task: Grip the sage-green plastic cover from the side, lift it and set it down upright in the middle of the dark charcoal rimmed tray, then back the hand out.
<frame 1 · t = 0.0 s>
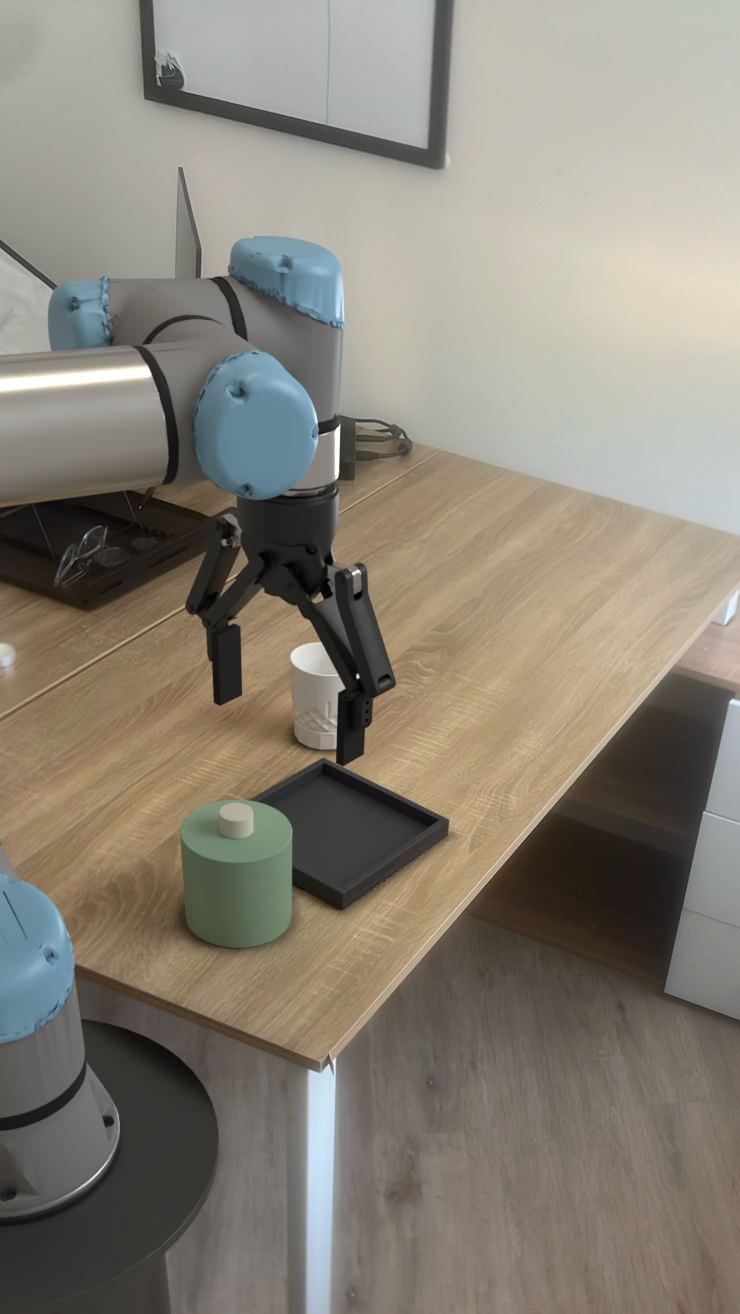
hand: (287, 728, 108), 22 cm above the table, tool pointing down, fingers open, 13 cm apart
tray: (331, 837, 134), on the table
cover: (239, 915, 123), on the table
white cup: (323, 737, 149), on the table
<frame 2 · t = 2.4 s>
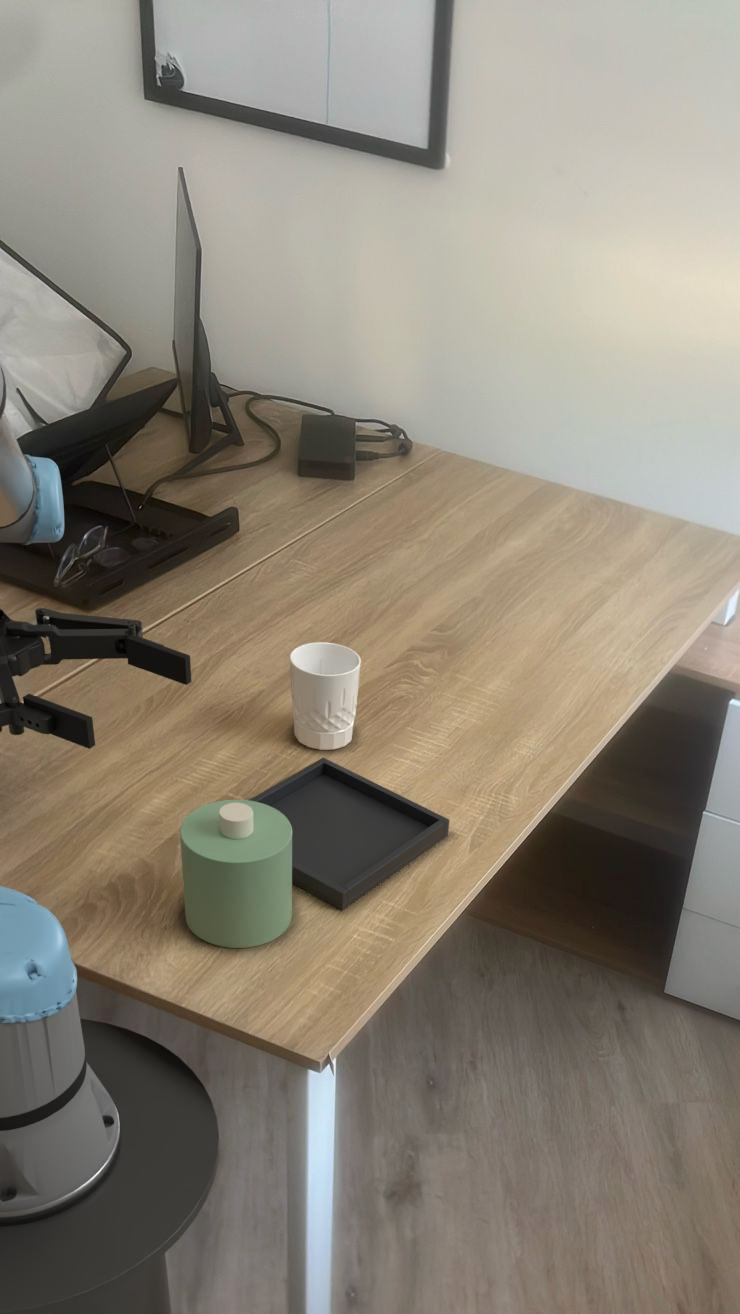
hand: (142, 700, 112), 20 cm above the table, tool horizontal, fingers open, 13 cm apart
nothing on the table moved.
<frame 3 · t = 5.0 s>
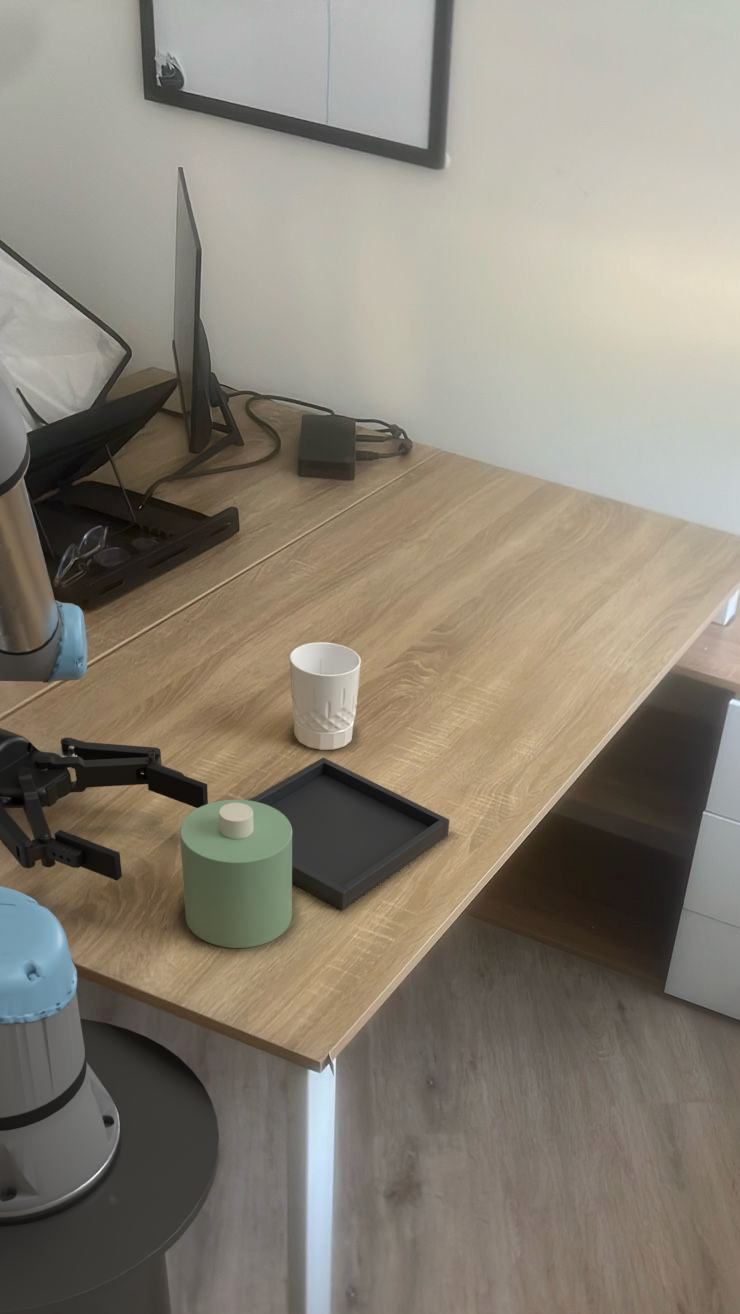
hand: (164, 830, 120), 7 cm above the table, tool horizontal, fingers open, 13 cm apart
nothing on the table moved.
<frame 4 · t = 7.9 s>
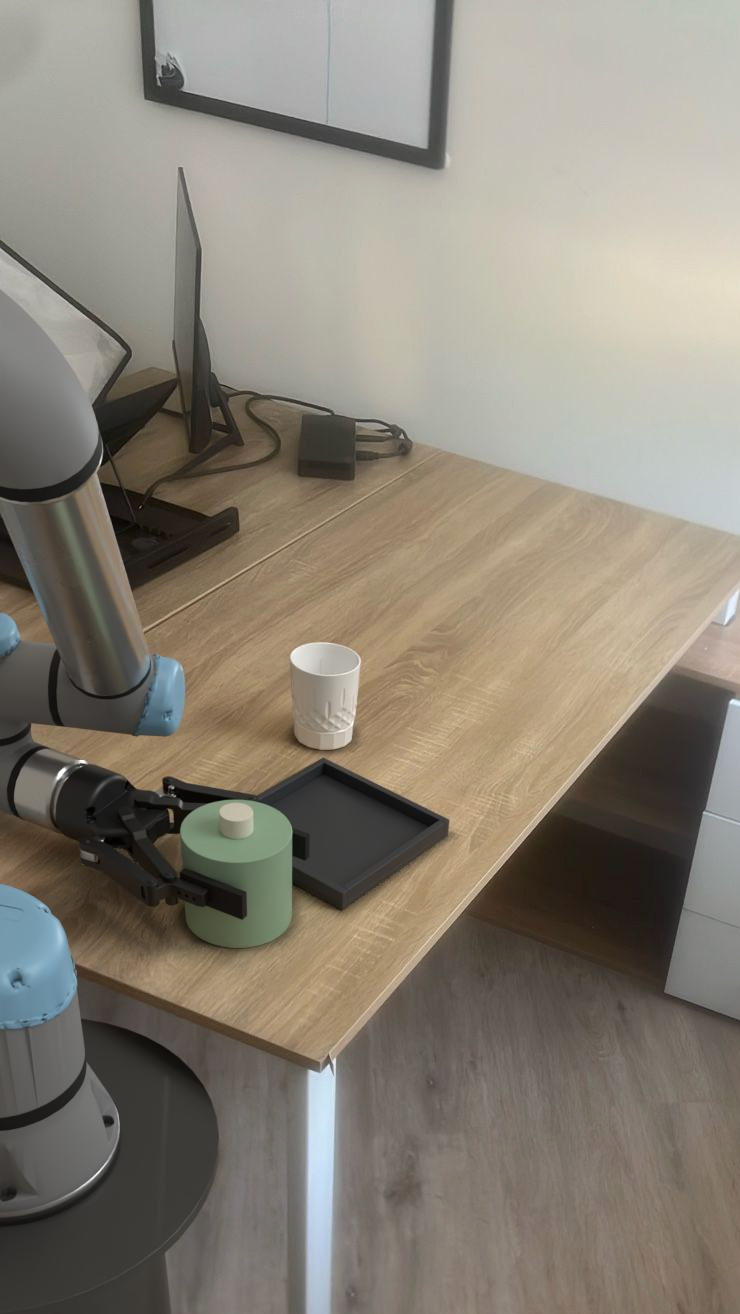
hand: (277, 875, 117), 6 cm above the table, tool horizontal, fingers closed on cover, 10 cm apart
cover: (239, 915, 123), on the table, touching gripper
everything else where it was.
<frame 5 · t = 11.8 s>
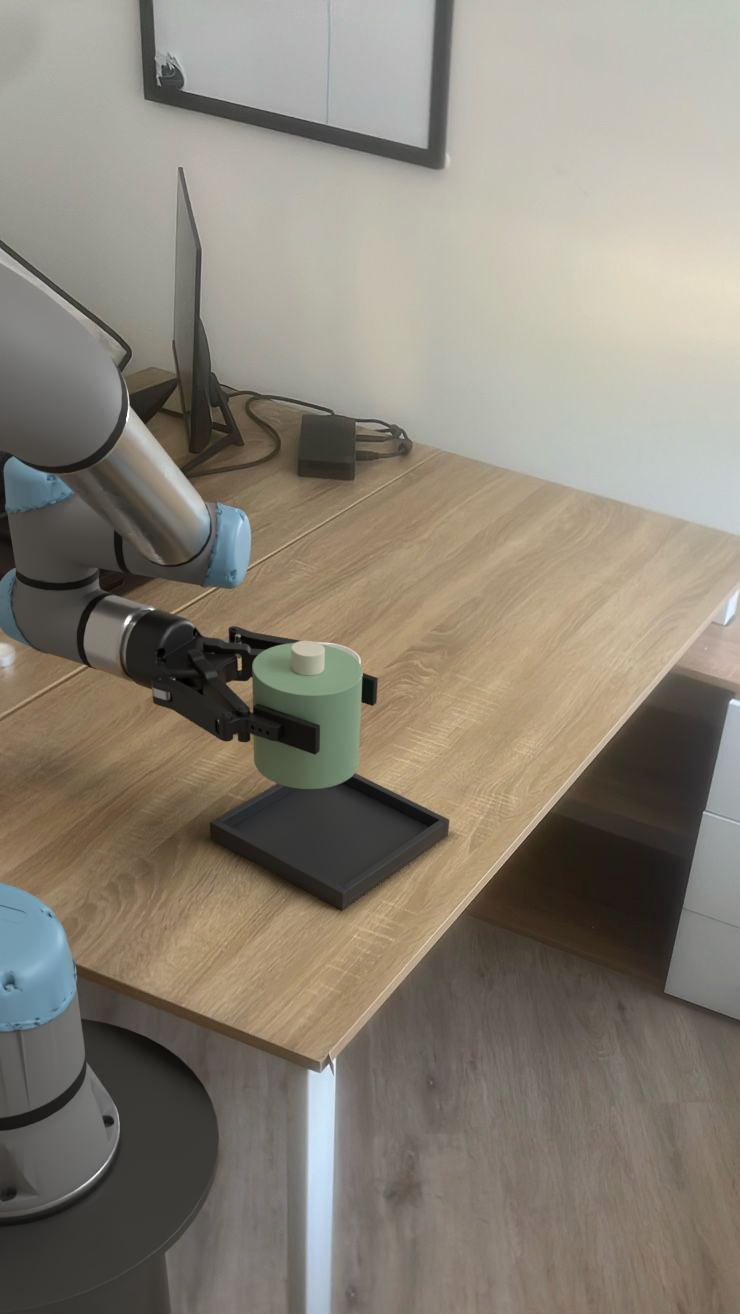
hand: (347, 715, 118), 18 cm above the table, tool horizontal, fingers closed on cover, 10 cm apart
cover: (306, 760, 123), point 12 cm above the table, touching gripper
everything else where it was.
when the fingers open (7 cm above the table, at t = 16.0 s): cover stays where it is, resting on tray.
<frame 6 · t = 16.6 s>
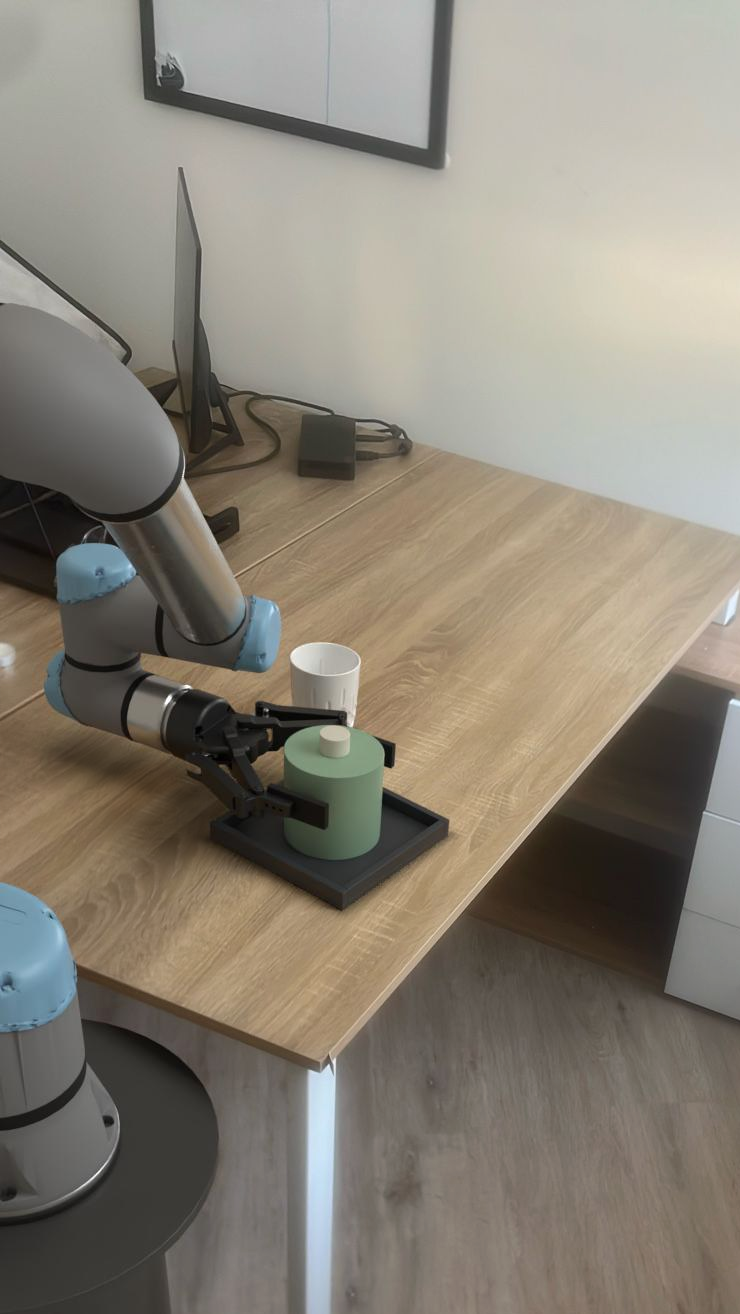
hand: (361, 785, 129), 8 cm above the table, tool horizontal, fingers open, 13 cm apart
cover: (332, 832, 134), point 1 cm above the table, touching tray
everything else where it was.
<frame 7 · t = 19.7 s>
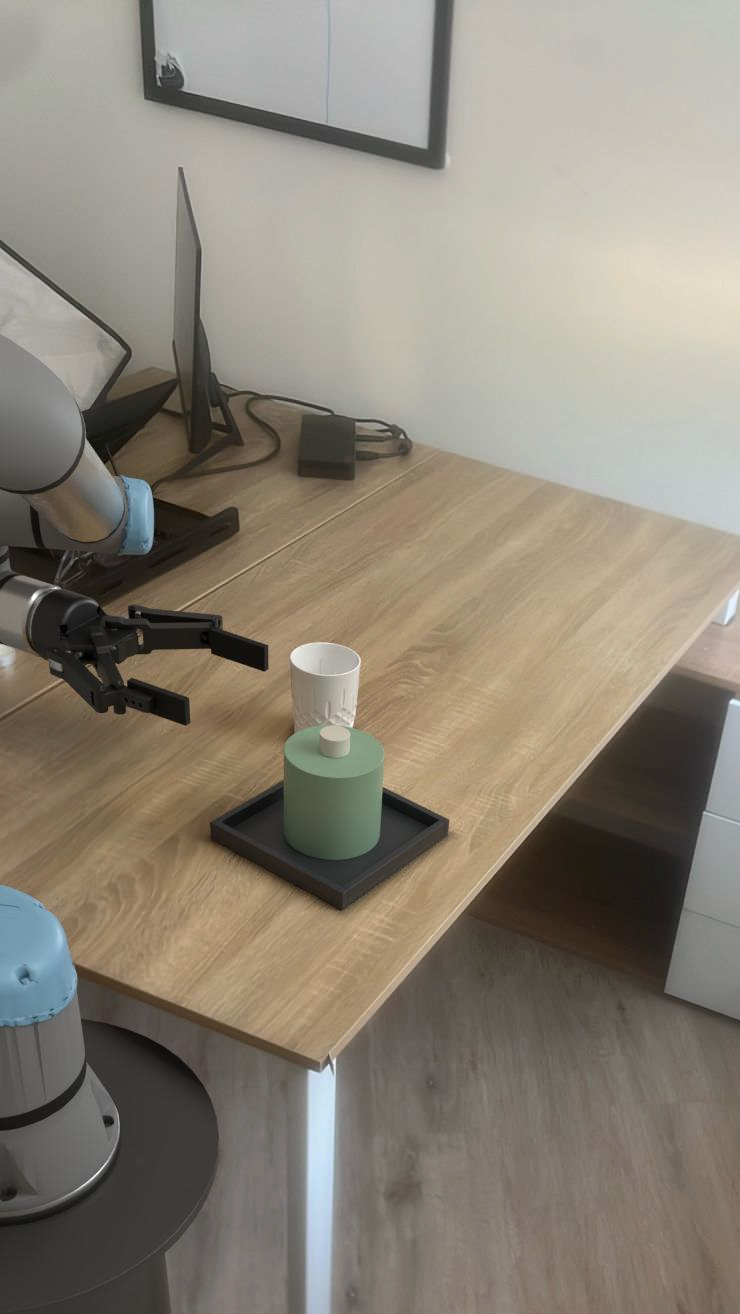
hand: (229, 684, 126), 15 cm above the table, tool horizontal, fingers open, 13 cm apart
nothing on the table moved.
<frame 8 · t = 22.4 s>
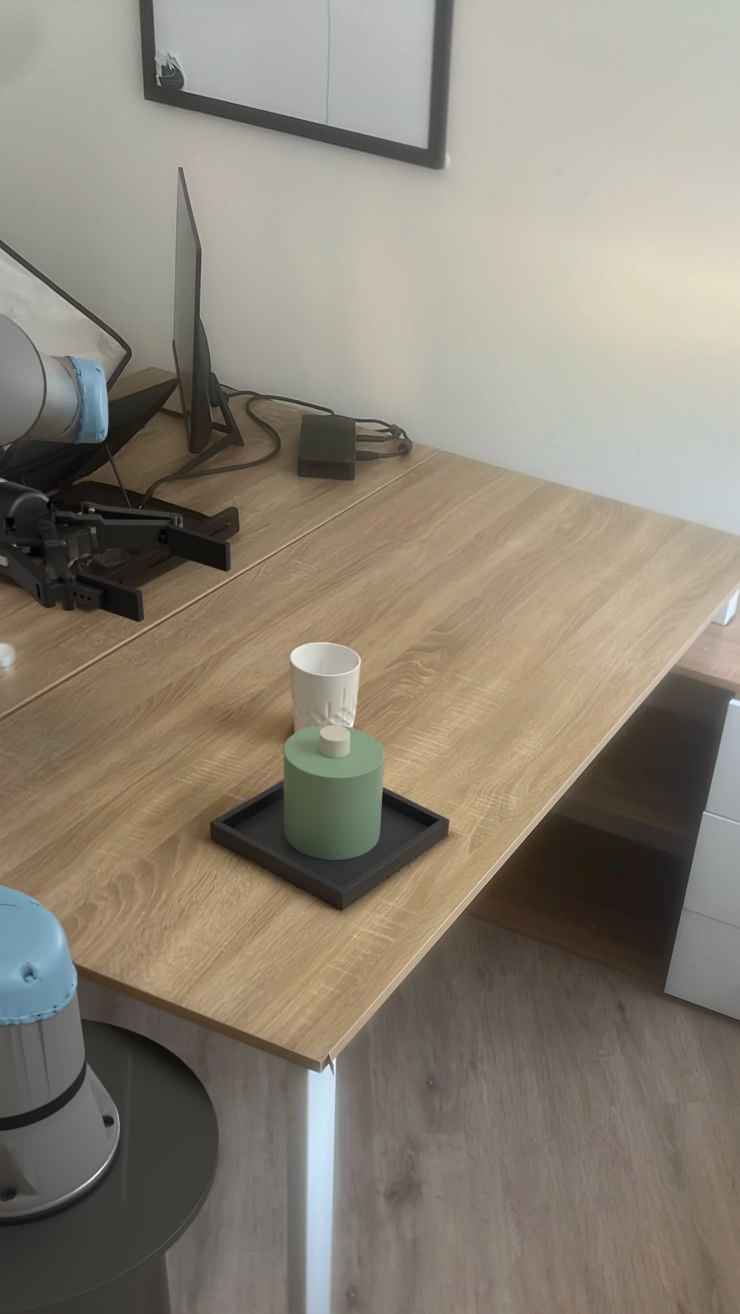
hand: (186, 581, 118), 26 cm above the table, tool horizontal, fingers open, 13 cm apart
nothing on the table moved.
at the end: cover inside the target area in the tray (0.0 cm from its centre), point 0.6 cm above the tray's base; cover tilted 0°; the gripper is holding nothing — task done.
